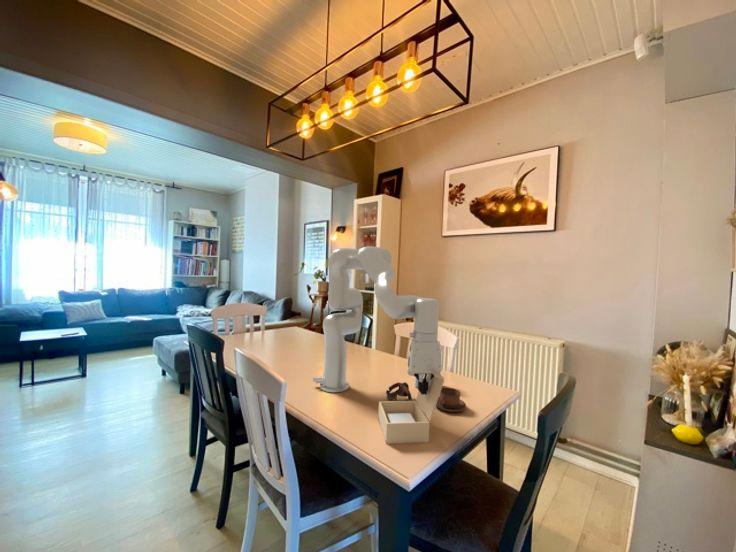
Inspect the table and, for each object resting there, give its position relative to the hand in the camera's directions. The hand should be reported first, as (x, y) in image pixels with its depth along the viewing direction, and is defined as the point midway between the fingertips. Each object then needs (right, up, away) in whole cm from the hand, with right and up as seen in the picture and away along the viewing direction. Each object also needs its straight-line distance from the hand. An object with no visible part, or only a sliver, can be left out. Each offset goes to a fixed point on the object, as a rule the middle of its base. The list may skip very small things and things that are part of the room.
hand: (422, 392), depth 99 cm
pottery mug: (-5, -12, +21) cm, 24 cm away
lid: (0, +2, 0) cm, 2 cm away
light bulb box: (+8, -12, +38) cm, 40 cm away
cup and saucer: (+13, -12, +17) cm, 25 cm away
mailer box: (-7, -12, -1) cm, 14 cm away
